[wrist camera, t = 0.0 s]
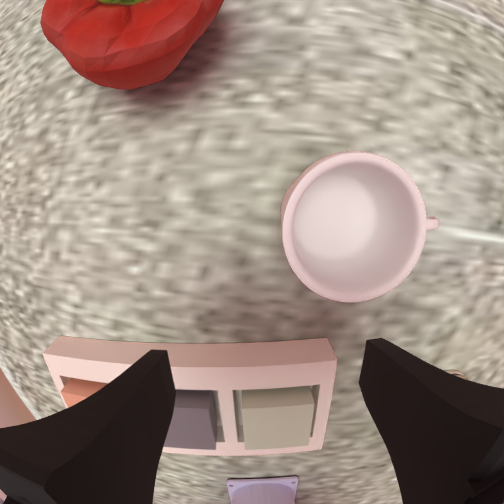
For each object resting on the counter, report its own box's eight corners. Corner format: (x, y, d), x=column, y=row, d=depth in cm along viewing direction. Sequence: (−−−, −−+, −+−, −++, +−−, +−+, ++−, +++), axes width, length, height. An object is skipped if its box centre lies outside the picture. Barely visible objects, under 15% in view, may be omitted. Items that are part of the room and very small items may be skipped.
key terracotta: (137, 422, 21) (130, 442, 18) (90, 414, 21) (81, 432, 18) (122, 380, 20) (112, 401, 17) (73, 374, 20) (60, 391, 17)
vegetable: (237, -23, 14) (235, -116, 4) (245, 93, 17) (247, 15, 7) (98, 4, 14) (36, -57, 4) (88, 118, 17) (-11, 92, 7)
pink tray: (315, 425, 23) (321, 449, 21) (92, 418, 23) (82, 437, 20) (326, 337, 21) (337, 359, 18) (59, 335, 21) (42, 353, 18)
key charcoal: (217, 427, 21) (215, 449, 19) (161, 424, 21) (155, 445, 18) (211, 385, 20) (208, 408, 17) (148, 383, 20) (139, 404, 17)
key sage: (303, 423, 21) (308, 445, 19) (244, 427, 21) (245, 449, 19) (308, 381, 20) (314, 403, 17) (241, 385, 20) (241, 408, 17)
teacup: (274, 275, 20) (284, 310, 15) (268, 157, 18) (278, 149, 13) (406, 265, 20) (447, 291, 15) (409, 160, 18) (456, 158, 13)
